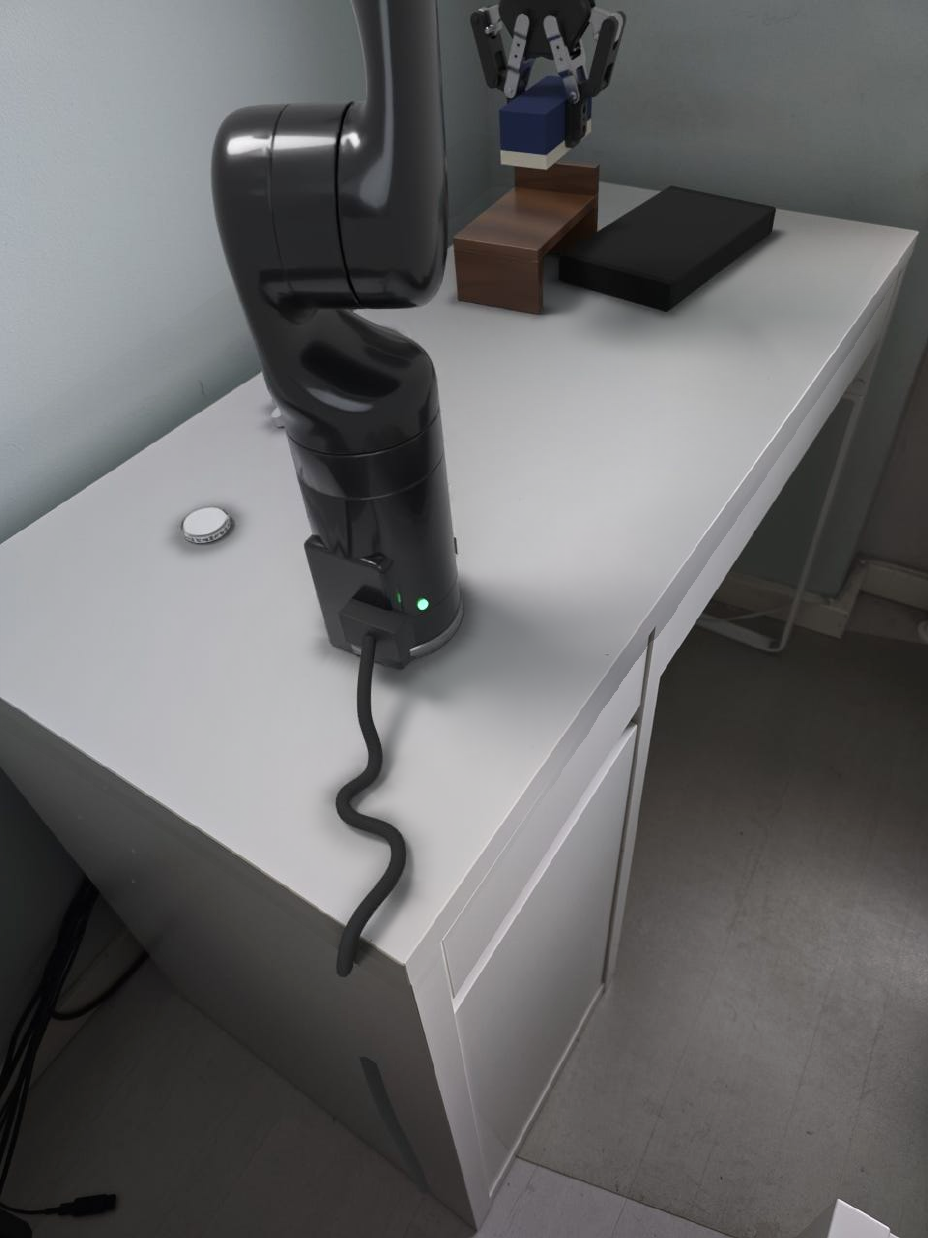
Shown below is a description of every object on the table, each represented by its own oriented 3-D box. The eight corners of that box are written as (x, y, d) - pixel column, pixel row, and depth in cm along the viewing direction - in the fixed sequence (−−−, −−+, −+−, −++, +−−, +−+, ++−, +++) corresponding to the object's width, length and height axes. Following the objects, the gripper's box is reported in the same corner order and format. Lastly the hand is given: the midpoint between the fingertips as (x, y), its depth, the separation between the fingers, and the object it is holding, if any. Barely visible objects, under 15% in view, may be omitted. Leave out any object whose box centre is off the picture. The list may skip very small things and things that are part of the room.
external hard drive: (558, 280, 99) (558, 254, 97) (667, 209, 110) (669, 184, 108) (668, 312, 92) (670, 284, 90) (772, 233, 103) (776, 206, 101)
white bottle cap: (235, 510, 74) (233, 504, 73) (225, 541, 71) (223, 535, 70) (188, 512, 74) (186, 506, 73) (177, 543, 71) (175, 538, 71)
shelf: (538, 314, 94) (537, 219, 87) (457, 300, 98) (450, 207, 90) (596, 253, 103) (599, 163, 96) (520, 242, 107) (518, 154, 100)
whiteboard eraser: (546, 169, 78) (546, 113, 74) (500, 164, 79) (498, 109, 76) (591, 131, 83) (592, 78, 80) (547, 127, 85) (547, 74, 82)
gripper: (443, -83, 69) (460, 148, 82) (612, -83, 64) (603, 165, 76) (487, -101, 73) (497, 122, 86) (649, -102, 68) (634, 135, 80)
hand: (547, 141), depth 81 cm, fingers closed on whiteboard eraser, 4 cm apart
